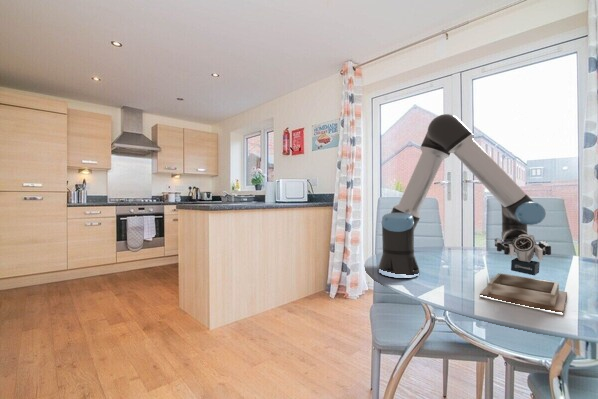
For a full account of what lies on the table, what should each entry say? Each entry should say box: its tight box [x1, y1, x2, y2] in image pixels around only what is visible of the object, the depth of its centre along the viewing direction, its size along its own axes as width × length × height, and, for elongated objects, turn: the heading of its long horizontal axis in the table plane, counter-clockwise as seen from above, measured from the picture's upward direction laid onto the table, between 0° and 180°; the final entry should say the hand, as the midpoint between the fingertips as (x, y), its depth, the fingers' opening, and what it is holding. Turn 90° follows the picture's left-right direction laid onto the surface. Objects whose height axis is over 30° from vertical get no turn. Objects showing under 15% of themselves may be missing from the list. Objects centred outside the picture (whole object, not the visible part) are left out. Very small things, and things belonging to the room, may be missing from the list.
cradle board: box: [479, 273, 568, 313], centre depth 82 cm, size 18×18×4 cm
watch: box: [510, 233, 540, 276], centre depth 81 cm, size 6×8×11 cm
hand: (526, 253), depth 77 cm, fingers closed on watch, 5 cm apart
